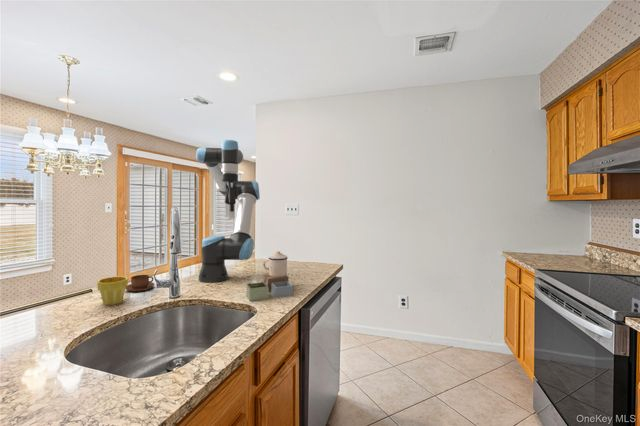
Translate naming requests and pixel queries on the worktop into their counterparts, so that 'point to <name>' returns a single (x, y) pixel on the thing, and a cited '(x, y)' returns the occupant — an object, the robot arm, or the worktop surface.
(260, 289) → the olive tin
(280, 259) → the teacup with lid
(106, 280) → the plant pot
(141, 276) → the cup and saucer
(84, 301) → the worktop surface
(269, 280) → the walnut stand
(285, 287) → the grey tub
